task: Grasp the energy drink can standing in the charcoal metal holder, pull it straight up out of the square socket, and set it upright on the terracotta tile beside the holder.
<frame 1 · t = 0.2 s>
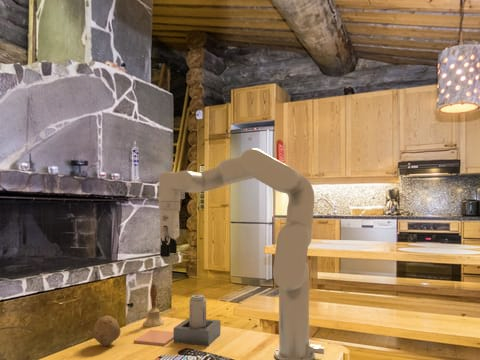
hand: (168, 254, 137), 30 cm above the table, tool pointing down, fingers open, 9 cm apart
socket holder: (197, 338, 140), on the table
natural sponge: (105, 346, 133), on the table
terracotta tile: (157, 338, 140), on the table
energy drink can: (197, 338, 140), resting in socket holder
hand bell: (153, 324, 158), on the table
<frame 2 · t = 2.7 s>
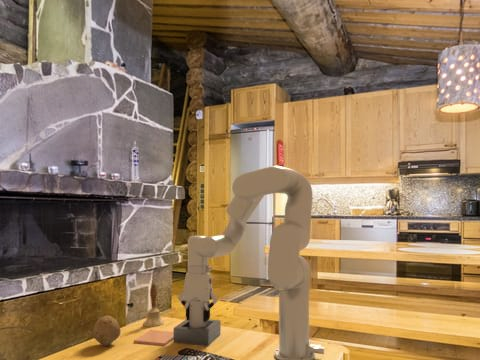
hand: (197, 319, 140), 7 cm above the table, tool pointing down, fingers closed on energy drink can, 6 cm apart
energy drink can: (197, 338, 140), resting in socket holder, touching gripper
everything else where it was.
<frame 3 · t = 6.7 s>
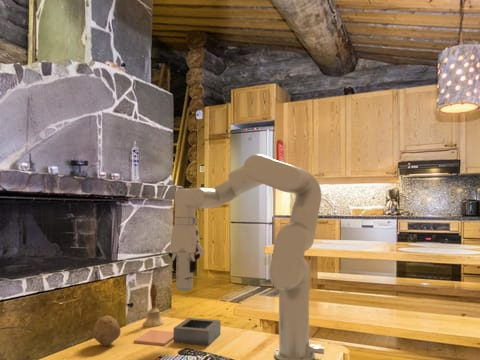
hand: (184, 271, 142), 24 cm above the table, tool pointing down, fingers closed on energy drink can, 6 cm apart
energy drink can: (184, 289, 141), point 17 cm above the table, touching gripper
everything else where it was.
when the fingers open (9 cm above the table, at t = 10.5 s): energy drink can drops 1 cm, resting on terracotta tile.
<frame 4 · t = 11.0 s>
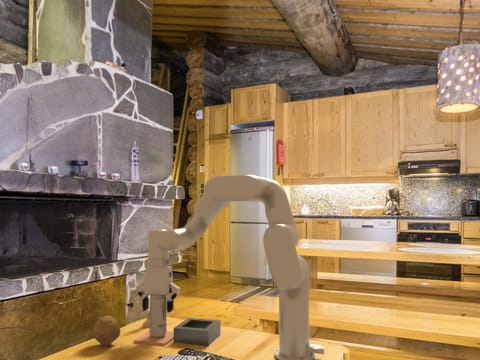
hand: (157, 310, 140), 10 cm above the table, tool pointing down, fingers open, 9 cm apart
energy drink can: (157, 336, 140), point 1 cm above the table, touching terracotta tile
everything else where it was.
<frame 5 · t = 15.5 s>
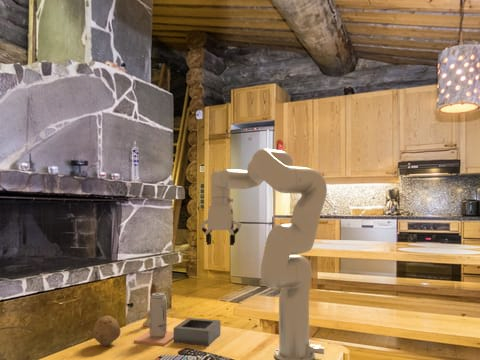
hand: (220, 244, 155), 32 cm above the table, tool pointing down, fingers open, 9 cm apart
nothing on the table moved.
at the end: energy drink can inside the target area on the terracotta tile (0.2 cm from its centre), point 0.6 cm above the terracotta tile's base; energy drink can tilted 0°; the gripper is holding nothing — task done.
